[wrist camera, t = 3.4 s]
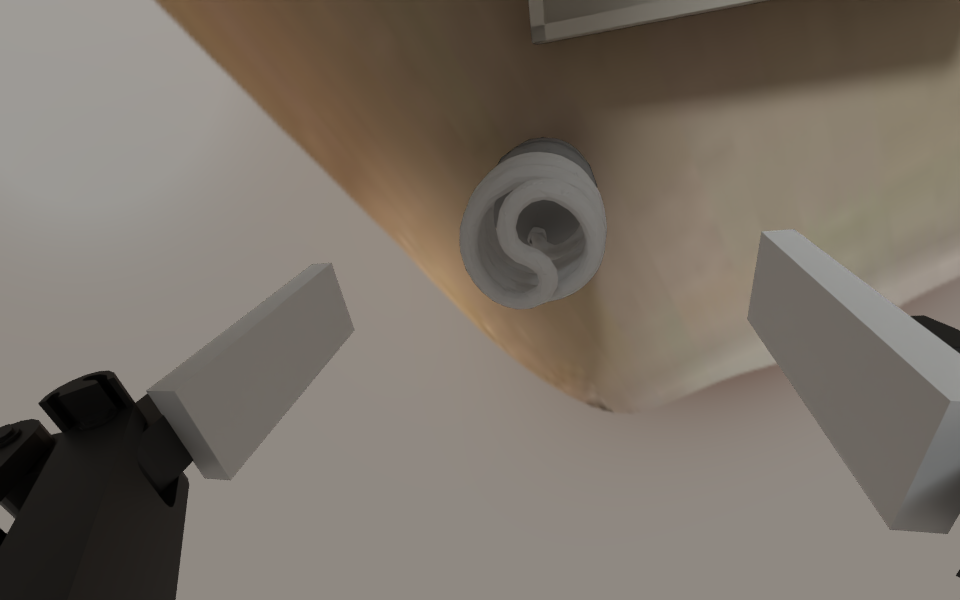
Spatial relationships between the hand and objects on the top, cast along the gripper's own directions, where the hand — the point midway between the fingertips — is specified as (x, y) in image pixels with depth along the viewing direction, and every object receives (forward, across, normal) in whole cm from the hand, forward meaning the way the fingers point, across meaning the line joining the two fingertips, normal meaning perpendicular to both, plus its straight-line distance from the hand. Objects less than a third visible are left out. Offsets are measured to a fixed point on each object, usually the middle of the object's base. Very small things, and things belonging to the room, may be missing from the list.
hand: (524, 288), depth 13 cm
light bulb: (+14, 0, 0) cm, 14 cm away
